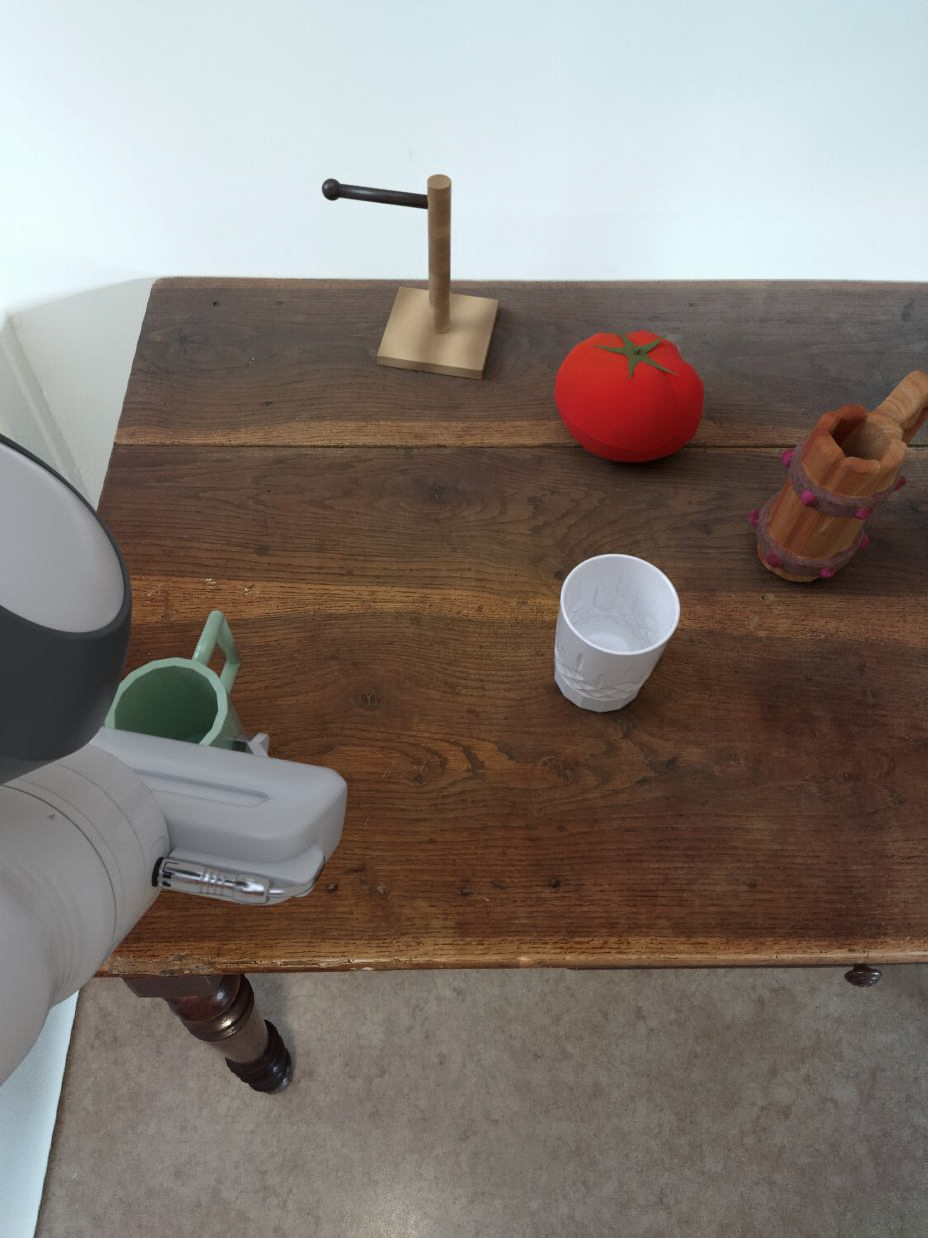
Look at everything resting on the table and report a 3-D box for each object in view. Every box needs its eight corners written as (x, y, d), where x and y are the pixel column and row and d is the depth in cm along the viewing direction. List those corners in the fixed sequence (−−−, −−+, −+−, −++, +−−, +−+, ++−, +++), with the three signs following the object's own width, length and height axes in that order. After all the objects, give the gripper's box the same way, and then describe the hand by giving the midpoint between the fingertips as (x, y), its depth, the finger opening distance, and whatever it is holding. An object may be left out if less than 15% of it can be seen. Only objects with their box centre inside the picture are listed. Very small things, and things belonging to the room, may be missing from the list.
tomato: (673, 502, 76) (703, 417, 67) (532, 461, 78) (544, 373, 69) (701, 413, 81) (733, 324, 72) (569, 377, 83) (584, 285, 74)
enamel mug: (239, 835, 50) (204, 777, 42) (138, 815, 50) (85, 755, 43) (289, 680, 55) (265, 603, 48) (196, 663, 56) (158, 585, 48)
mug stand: (498, 309, 88) (509, 153, 74) (481, 380, 83) (489, 226, 69) (351, 288, 89) (334, 131, 75) (325, 357, 84) (302, 201, 70)
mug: (797, 617, 70) (878, 496, 57) (718, 553, 73) (778, 424, 60) (904, 521, 75) (1000, 391, 62) (826, 465, 78) (902, 330, 65)
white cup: (544, 626, 69) (559, 551, 60) (645, 629, 69) (674, 555, 60) (546, 718, 65) (562, 652, 56) (653, 722, 65) (685, 657, 56)
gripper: (312, 833, 33) (383, 711, 46) (-198, 736, 34) (14, 645, 48) (295, 978, 35) (368, 820, 48) (-193, 880, 36) (11, 753, 49)
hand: (189, 732), depth 48 cm, fingers closed on enamel mug, 6 cm apart
